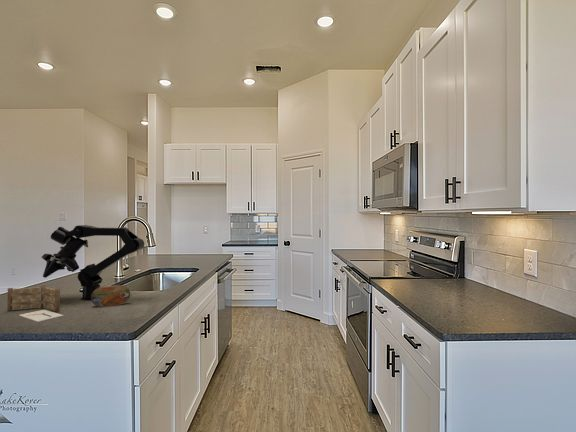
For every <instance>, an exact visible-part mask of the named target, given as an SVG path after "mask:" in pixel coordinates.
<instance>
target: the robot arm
mask: <svg viewBox="0 0 576 432" xmlns="http://www.w3.org/2000/svg"><path fill="white" fill-rule="evenodd" d="M95 236H98V237H99V236H100V237H101V236H102V237H103V236H104V237H105V236H109V237H110V236H112V237H113V236H116V237H118V236H119V238H120V239H121V241H122V242H123V243H124V244H123V245H122V247H121V248H120V249H119V250H117V251H115V252H114V253H113V254H111V255H109V256H108V257H106V258H105V259H103V260H102V261H100V262H98V263H97V264H96V263H91V264H88V265H86V266H85V267H84V268H82V269H80V265H79V264H78V262H77V260H76V259H75V258H76V257H77V253H78V252H79V251H80V250H81V248H82V247H85V248H89V244H88V243H89V241H88V239H84V238H88V237H89V238H90V237H95ZM50 239H51V240H52V241H54V242H57V243H58V244H60V245H62V246H61V247H59V249H60V250H59V251H58V252H57V253H53V254H51V253H44V254H43V255H42V256H41V259H43V260H44V261H45V262H46V265H45V268H44V271H43V274H42V277H43V278H48V277H49V276H51V275H53V274H54V273H56V272H57V271H61V270H64V271H65V270H67V271H68V272H72V273H73V272H76V271H77V270H78V269H80V270H79V272H78V274H77V280H78V281H79V283H80V286H81V287H82V297H80V300H88V301H90V300H91V295H92V293H93V292H94V290H96V289H97V288H99V287H101V284H102V282H103V278H102V277H101V276H100V275H101V274H102V273H103V271H105V270H107V269H108V268H110V267H111V266H112V265H114V264H116V263H117V262H118V261H121V260H122V259H124V258H125V257H127V256H128V255H130V254H133V253H136V252H138V251H140V250H143V249H144V248H145V241H144V239H142V238H140V237H138V235H136V234H135V233H133V232H132V231H131V230H130V229H129V228H127V227H96V226H93V225H88V224H81V225H80V224H79V225H75V226H74V227H73V229H72V230H68V229H66V228H65V227H63V226H59V227H57V228H56V229H55V230H54V231H53V232H52V233H51V234H50ZM65 267H66V268H65Z"/></svg>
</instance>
